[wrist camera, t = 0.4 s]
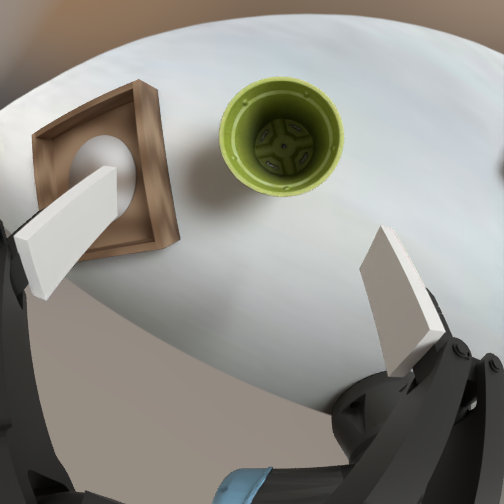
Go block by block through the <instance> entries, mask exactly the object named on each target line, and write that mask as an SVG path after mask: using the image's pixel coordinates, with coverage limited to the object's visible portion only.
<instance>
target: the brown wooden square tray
mask: <svg viewBox="0 0 504 504" xmlns="http://www.w3.org/2000/svg"><path fill="white" fill-rule="evenodd" d="M32 151H33V165H34V175H35V184H36V192H37V199H38V206H39V210H41V209H43V208H45V207H47V206H49V205H50V204H52V203H53V202H54V201H55V200H57V199H58V198H59V197H61V196H62V195H63V194H64V193H66V192H67V191H68V190H70V189H71V188H72V187H74V186H75V185H77V184H78V183H79V182H81V181H82V180H84V179H85V178H86V177H88V176H89V175H91V174H92V173H94V172H95V171H97V170H98V169H100V168H101V167H103V166H111V167H117V214H118V216H117V217H116V218H115V219H114V220H113V221H112V222H111V223H110V224H109V225H108V227H107V228H106V229H105V230H104V231H103V232H102V233H101V234H100V235H99V236H98V238H97V239H96V240H95V241H94V242H93V243H92V244H91V246H90V247H89V248H88V249H87V250H86V251H85V252H84V254H83V255H82V256H81V257H80V258H79V260H78V261H84V260H91V259H97V258H104V257H110V256H117V255H123V254H130V253H137V252H143V251H150V250H157V249H164V248H166V247H167V246H169V245H171V244H173V243H175V242H177V241H178V240H180V235H179V229H178V224H177V219H176V214H175V208H174V203H173V197H172V191H171V185H170V179H169V173H168V166H167V160H166V153H165V146H164V139H163V131H162V124H161V115H160V107H159V98H158V90H157V89H155V88H154V87H152V86H150V85H148V84H147V83H145V82H143V81H141V80H140V79H138V80H136V81H133V82H131V83H129V84H126V85H124V86H121V87H119V88H117V89H115V90H112V91H110V92H108V93H106V94H104V95H102V96H99V97H97V98H95V99H93V100H91V101H89V102H87V103H85V104H83V105H81V106H80V107H78V108H76V109H74V110H72V111H70V112H68V113H67V114H65V115H63V116H61V117H60V118H58V119H56V120H54V121H53V122H51V123H49V124H48V125H46V126H45V127H43V128H41V129H40V130H38V131H37V132H35V133H34V134H32ZM78 261H77V262H78Z"/></svg>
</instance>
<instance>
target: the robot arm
mask: <svg viewBox="0 0 504 504" xmlns="http://www.w3.org/2000/svg"><path fill="white" fill-rule="evenodd" d="M117 216H118V214H117V167H111V166H103V167H101V168H100V169H98V170H97V171H95V172H94V173H92V174H91V175H89V176H88V177H86V178H85V179H84V180H82V181H81V182H79V183H78V184H77V185H75V186H74V187H72V188H71V189H70V190H68V191H67V192H66V193H64V194H63V195H62V196H61V197H59V198H58V199H57V200H55V201H54V202H53V203H52V204H50V205H49V206H47V207H45V208H43V209H41V210H39V211H38V212H37V213H36V214H34V215H33V216H32V218H30V219H29V220H27V221H26V223H24V224H23V225H22V226H20V227H19V228H18V229H17V230H16V231H15V232H14V233H13V234H12V235H10V236H9V237H8V238H6V234H5V231H4V226H3V222H2V221H1V220H0V504H124V503H121V502H118V501H116V500H113V499H110V498H107V497H104V496H101V495H98V494H95V493H92V492H89V491H85V493H83V492H76V491H75V489H74V487H73V484H72V482H71V480H70V478H69V476H68V474H67V472H66V470H65V468H64V467H63V465H62V464H61V463H60V461H59V460H58V458H57V456H56V455H55V452H54V449H53V446H52V443H51V440H50V437H49V434H48V430H47V427H46V423H45V420H44V416H43V412H42V408H41V404H40V400H39V395H38V391H37V386H36V381H35V375H34V369H33V363H32V356H31V349H30V341H29V332H28V320H27V302H26V294H25V291H24V289H25V288H26V286H27V285H28V284H29V286H30V289H31V292H32V294H33V295H34V296H36V297H39V298H41V299H43V300H47V299H48V298H49V296H50V295H51V294H52V292H53V291H54V290H55V288H56V287H57V286H58V284H59V283H60V282H61V281H62V279H63V278H64V277H65V276H66V274H67V273H68V272H69V271H70V269H71V268H72V267H73V266H74V264H75V263H76V262H77V261H78V260H79V258H80V257H81V256H82V255H83V254H84V252H85V251H86V250H87V249H88V248H89V247H90V246H91V244H92V243H93V242H94V241H95V240H96V239H97V238H98V236H99V235H100V234H101V233H102V232H103V231H104V230H105V229H106V228H107V227H108V225H109V224H110V223H111V222H112V221H113V220H114V219H115V218H116V217H117ZM360 272H361V276H362V279H363V282H364V285H365V289H366V292H367V295H368V299H369V302H370V306H371V309H372V313H373V317H374V320H375V324H376V328H377V332H378V336H379V339H380V344H381V348H382V352H383V356H384V360H385V365H386V369H387V371H386V372H382V373H378V374H375V375H373V376H370V377H368V378H366V379H364V380H362V381H360V382H358V383H357V384H355V385H354V386H352V387H351V388H349V389H348V390H347V391H346V392H345V393H344V394H343V395H342V396H341V397H340V398H339V400H338V401H337V403H336V404H335V406H334V408H333V411H332V429H333V433H334V436H335V438H336V440H337V441H338V443H339V445H340V446H341V448H342V450H343V451H344V453H345V455H346V456H347V458H348V460H349V465H340V466H339V465H338V466H328V467H316V468H294V469H293V468H292V469H273V467H268V468H265V469H264V468H261V469H260V468H258V469H250V468H249V469H247V468H246V469H244V468H243V469H238V470H235V471H233V472H231V473H230V474H229V475H228V476H226V478H225V479H224V480H223V482H222V483H221V485H220V486H219V488H218V490H217V492H216V494H215V497H214V499H213V502H212V504H499V502H500V497H501V491H502V485H503V478H504V369H503V365H502V363H501V361H500V359H499V358H498V357H497V356H495V355H494V354H492V353H487V354H486V355H485V356H484V357H483V358H482V359H481V360H478V359H476V358H474V357H472V355H471V352H470V350H469V348H468V346H467V345H466V344H465V343H464V342H463V341H462V340H460V339H458V338H455V337H453V336H452V334H451V332H450V329H449V327H448V325H447V323H446V320H445V318H444V316H443V314H442V312H441V310H440V308H439V307H438V306H439V305H438V303H437V301H436V299H435V297H434V296H433V295H432V293H431V292H430V291H429V290H428V289H427V288H425V286H424V284H423V282H422V280H421V278H420V276H419V274H418V272H417V270H416V268H415V267H414V265H413V263H412V261H411V259H410V257H409V256H408V254H407V252H406V250H405V248H404V247H403V245H402V243H401V241H400V240H399V238H398V236H397V235H396V233H395V231H394V229H391V228H388V227H385V226H381V225H380V228H379V230H378V232H377V234H376V236H375V238H374V240H373V243H372V245H371V247H370V249H369V251H368V253H367V255H366V257H365V259H364V261H363V263H362V265H361V267H360ZM412 368H413V372H410V370H411V369H412ZM476 400H477V404H476V407H475V408H474V409H472V410H471V404H472V403H474V402H475V401H476Z"/></svg>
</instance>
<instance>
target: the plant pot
mask: <svg viewBox="0 0 504 504" xmlns="http://www.w3.org/2000/svg"><path fill="white" fill-rule="evenodd" d="M290 124H293V125H295V126H297V127H299V128H300V130H301V132H299V131H297V130H296V129H295V128H293V127H290V126H289V125H290ZM266 130H269V132H268V133H267V135H266V136H265V137H264V139H263V141H261V137H262V135H263V133H264V132H265V131H266ZM219 144H220V149H221V153H222V156H223V158H224V161H225V163H226V164H227V166H228V168H229V169H230V171H231V172H232V173H233V175H234V176H235V177H236V178H237V179H238V180H239V181H241V182H242V183H243V184H244V185H246V186H248V187H249V188H251V189H253V190H255V191H257V192H259V193H262V194H266V195H270V196H276V197H288V196H296V195H300V194H303V193H306V192H308V191H311V190H313V189H314V188H316V187H318V186H319V185H320V184H322V183H323V182H324V181H325V180H326V179H327V178H328V177H329V176H330V175H331V174H332V172H333V171H334V169H335V168H336V166H337V164H338V162H339V160H340V157H341V154H342V150H343V144H344V129H343V124H342V120H341V117H340V114H339V112H338V110H337V108H336V106H335V105H334V104H333V102H332V101H331V100H330V98H329V97H328V96H327V95H326V94H325V93H324V92H322V91H321V90H320V89H319V88H317V87H315V86H314V85H312V84H310V83H308V82H306V81H303V80H300V79H296V78H291V77H271V78H266V79H262V80H259V81H256V82H254V83H252V84H250V85H248V86H246V87H245V88H243V89H242V90H241V91H240V92H239V93H237V94H236V95H235V96H234V98H233V99H232V100H231V101H230V103H229V104H228V106H227V107H226V110H225V111H224V114H223V116H222V119H221V123H220V129H219ZM282 144H286V148H282V147H281V145H282ZM306 152H307V154H308V155H307V158H306V159H305V161H304V162H303V163H302V164H299V161H300V160H301V159H302V158H303V156H304V154H305V153H306ZM267 161H269V162H270V163H272V164H273V165H275V166H277V167H278V168H279V169H275V168H273V167H270V166H269V165H268V164H267Z"/></svg>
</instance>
